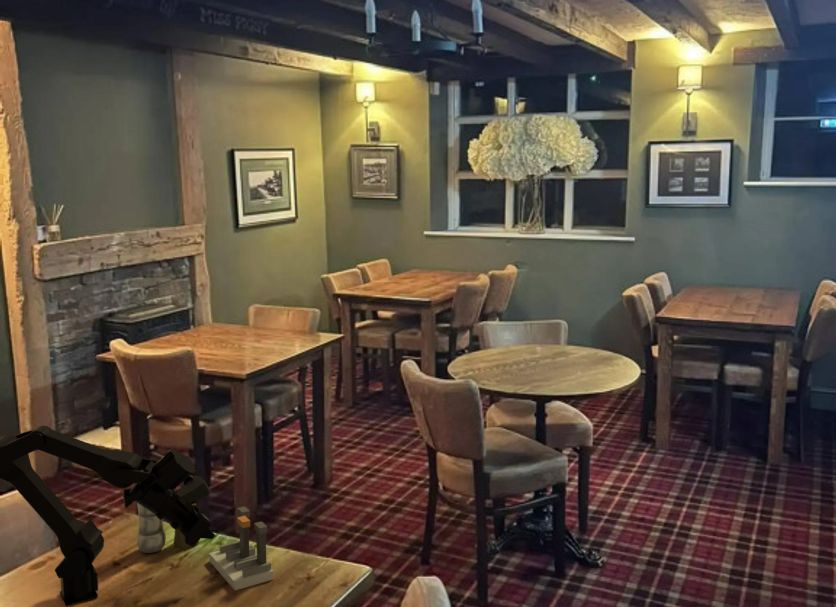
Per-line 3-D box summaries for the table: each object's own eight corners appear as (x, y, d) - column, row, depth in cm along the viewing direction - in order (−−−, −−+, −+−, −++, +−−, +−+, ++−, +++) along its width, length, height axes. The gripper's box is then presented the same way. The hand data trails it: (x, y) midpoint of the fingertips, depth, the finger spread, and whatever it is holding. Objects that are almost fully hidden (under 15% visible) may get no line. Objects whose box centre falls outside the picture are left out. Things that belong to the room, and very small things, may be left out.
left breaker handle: (243, 552, 186) (242, 512, 184) (238, 547, 188) (237, 507, 187) (251, 550, 187) (250, 510, 185) (245, 545, 189) (244, 506, 188)
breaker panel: (234, 590, 173) (234, 575, 172) (209, 561, 186) (209, 547, 186) (273, 579, 178) (273, 564, 177) (246, 551, 191) (245, 537, 190)
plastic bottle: (131, 554, 189) (127, 473, 186) (149, 542, 196) (145, 463, 193) (155, 558, 187) (151, 476, 184) (172, 545, 194) (168, 466, 191)
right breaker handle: (260, 569, 177) (259, 528, 176) (255, 564, 180) (254, 523, 178) (268, 567, 178) (267, 526, 177) (262, 562, 181) (261, 521, 179)
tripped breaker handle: (243, 563, 180) (242, 522, 179) (238, 557, 183) (237, 517, 182) (251, 561, 181) (250, 520, 180) (245, 555, 184) (244, 515, 182)
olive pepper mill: (203, 538, 198) (201, 496, 196) (193, 549, 192) (192, 506, 190) (179, 537, 198) (177, 495, 197) (169, 548, 192) (167, 505, 191)
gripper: (199, 482, 164) (252, 521, 171) (172, 456, 179) (222, 492, 187) (162, 528, 161) (218, 565, 168) (138, 497, 176) (190, 533, 184)
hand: (213, 536), depth 177 cm, fingers closed
